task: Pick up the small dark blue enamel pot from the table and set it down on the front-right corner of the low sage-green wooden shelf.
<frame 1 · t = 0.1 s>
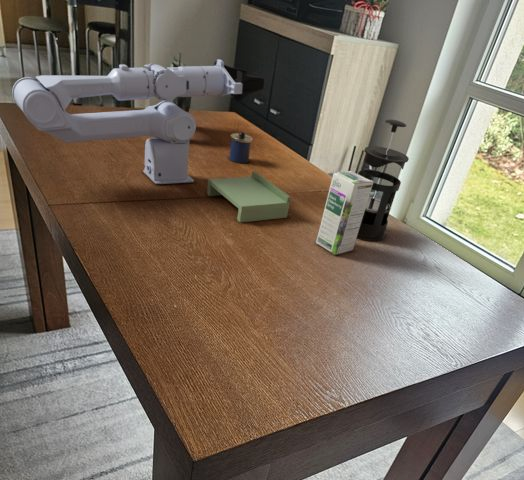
hand: (254, 79, 115), 22 cm above the table, tool horizontal, fingers open, 7 cm apart
pot: (238, 159, 136), on the table
shelf: (246, 205, 112), on the table
ceramic cat: (178, 132, 148), on the table
french press: (362, 231, 112), on the table
syrup box: (334, 247, 102), on the table
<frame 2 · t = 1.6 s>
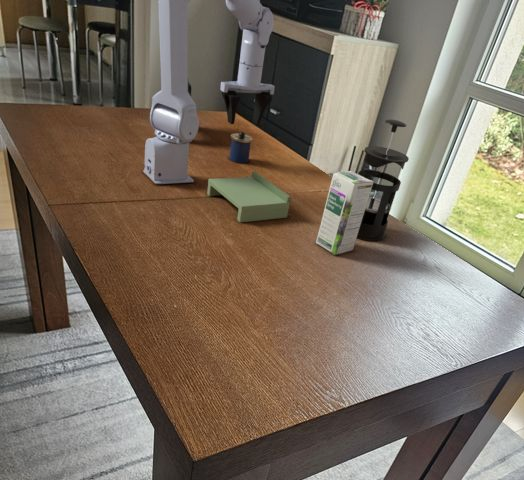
hand: (243, 123, 131), 9 cm above the table, tool pointing down, fingers open, 7 cm apart
nothing on the table moved.
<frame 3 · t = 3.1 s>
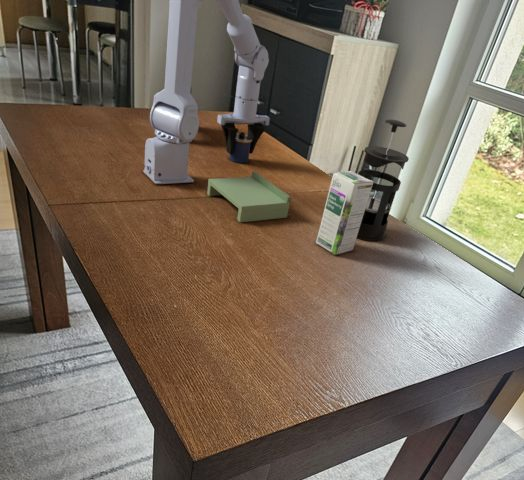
hand: (239, 152, 135), 2 cm above the table, tool pointing down, fingers closed on pot, 5 cm apart
pot: (238, 159, 136), on the table, touching gripper
everything else where it was.
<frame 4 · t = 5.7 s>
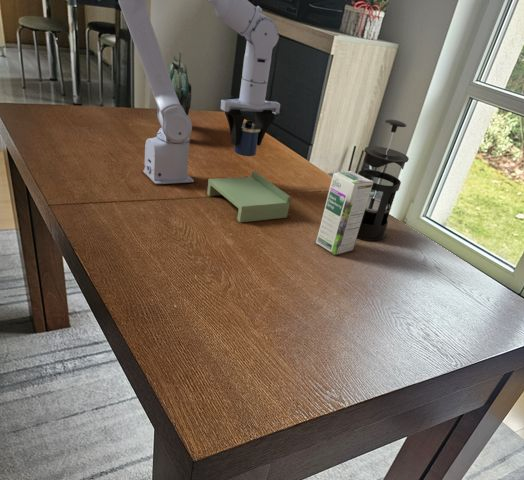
hand: (246, 144, 118), 9 cm above the table, tool pointing down, fingers closed on pot, 5 cm apart
pot: (244, 152, 119), point 7 cm above the table, touching gripper
everything else where it was.
when the fingers open (5 cm above the table, at t = 8.7 s): pot stays where it is, resting on shelf.
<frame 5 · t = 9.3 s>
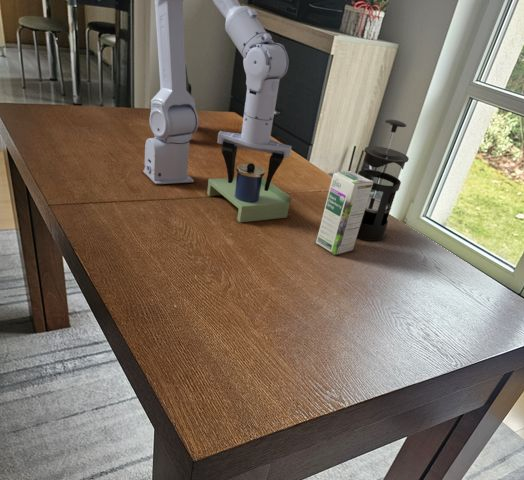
hand: (248, 185, 105), 6 cm above the table, tool pointing down, fingers open, 7 cm apart
pot: (246, 197, 107), point 3 cm above the table, touching shelf
everything else where it was.
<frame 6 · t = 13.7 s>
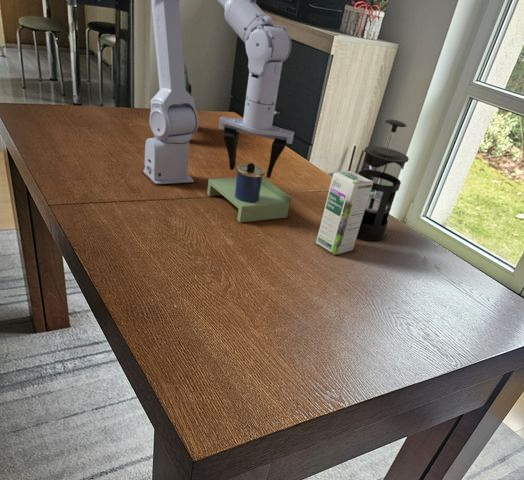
hand: (250, 172, 103), 9 cm above the table, tool pointing down, fingers open, 7 cm apart
nothing on the table moved.
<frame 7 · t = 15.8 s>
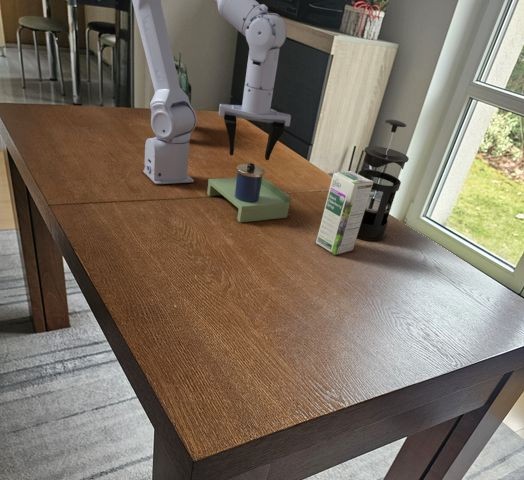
hand: (249, 156, 108), 10 cm above the table, tool pointing down, fingers open, 7 cm apart
nothing on the table moved.
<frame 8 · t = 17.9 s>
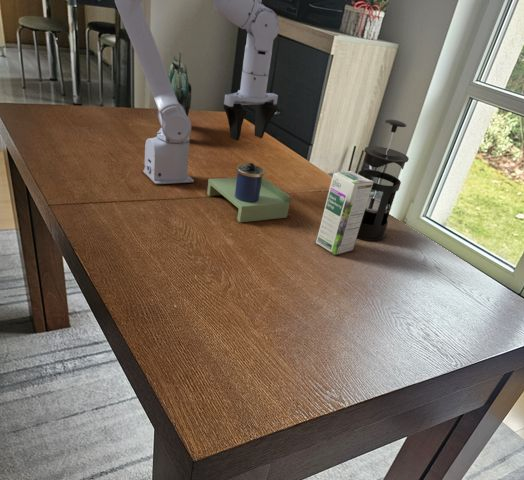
hand: (246, 138, 117), 10 cm above the table, tool pointing down, fingers open, 7 cm apart
nothing on the table moved.
at the end: pot 1.0 cm from the target spot on the shelf, point 3.5 cm above the shelf's base; pot tilted 0°; the gripper is holding nothing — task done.
